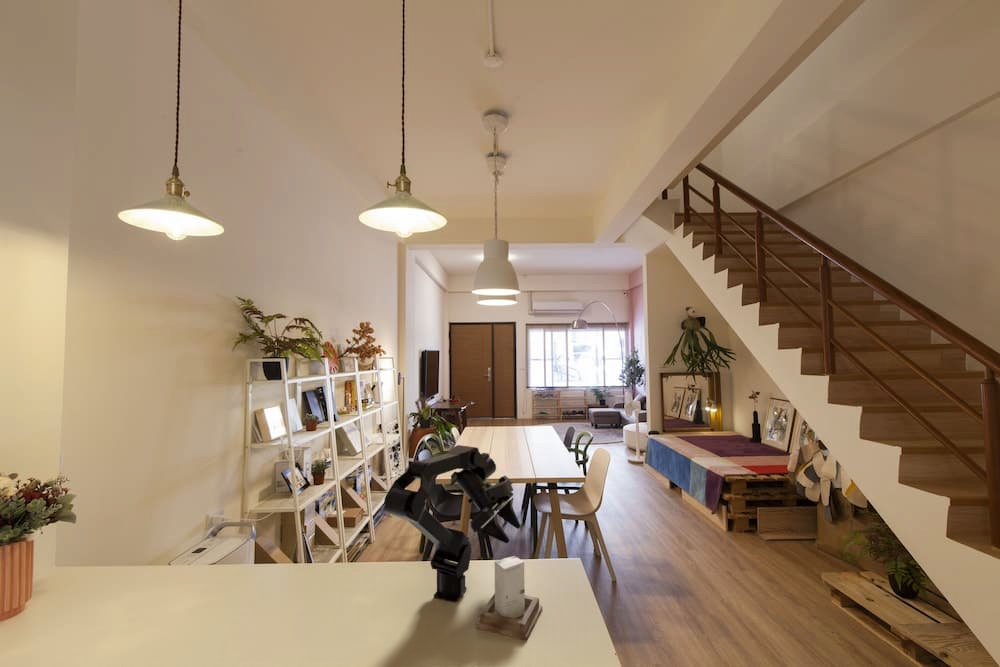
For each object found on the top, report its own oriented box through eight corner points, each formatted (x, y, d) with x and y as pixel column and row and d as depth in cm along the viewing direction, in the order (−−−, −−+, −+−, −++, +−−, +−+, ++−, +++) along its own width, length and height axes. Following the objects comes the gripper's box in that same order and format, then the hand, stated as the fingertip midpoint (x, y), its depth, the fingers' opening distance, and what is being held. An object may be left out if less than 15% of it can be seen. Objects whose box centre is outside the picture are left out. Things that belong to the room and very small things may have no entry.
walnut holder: (476, 627, 100) (476, 615, 100) (496, 598, 111) (496, 587, 111) (526, 640, 95) (526, 627, 95) (542, 608, 106) (542, 597, 107)
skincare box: (504, 623, 100) (503, 569, 100) (493, 613, 104) (493, 561, 104) (526, 614, 103) (525, 561, 103) (515, 604, 107) (514, 554, 107)
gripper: (480, 479, 110) (523, 530, 106) (506, 460, 128) (543, 503, 124) (453, 507, 113) (493, 557, 109) (481, 485, 130) (517, 527, 126)
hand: (514, 534), depth 117 cm, fingers open, 9 cm apart
